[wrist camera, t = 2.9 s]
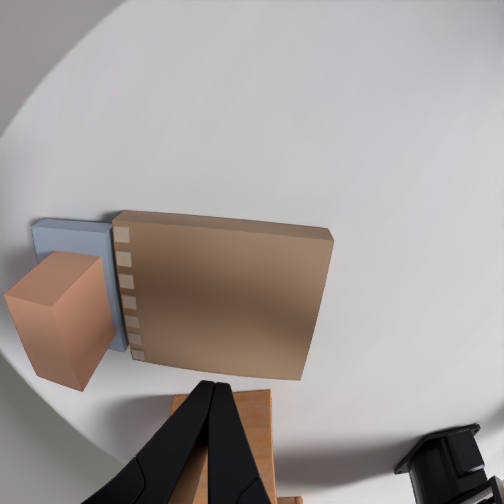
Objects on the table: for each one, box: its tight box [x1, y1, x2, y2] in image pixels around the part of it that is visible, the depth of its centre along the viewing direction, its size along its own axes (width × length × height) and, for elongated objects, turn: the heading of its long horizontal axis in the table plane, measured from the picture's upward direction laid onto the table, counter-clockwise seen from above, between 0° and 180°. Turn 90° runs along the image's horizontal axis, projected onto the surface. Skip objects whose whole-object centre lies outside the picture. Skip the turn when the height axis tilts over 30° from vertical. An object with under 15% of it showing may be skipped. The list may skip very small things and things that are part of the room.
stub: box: [4, 219, 129, 392], centre depth 11 cm, size 6×4×5 cm, turn 175°
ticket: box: [112, 210, 334, 381], centre depth 12 cm, size 7×8×1 cm
